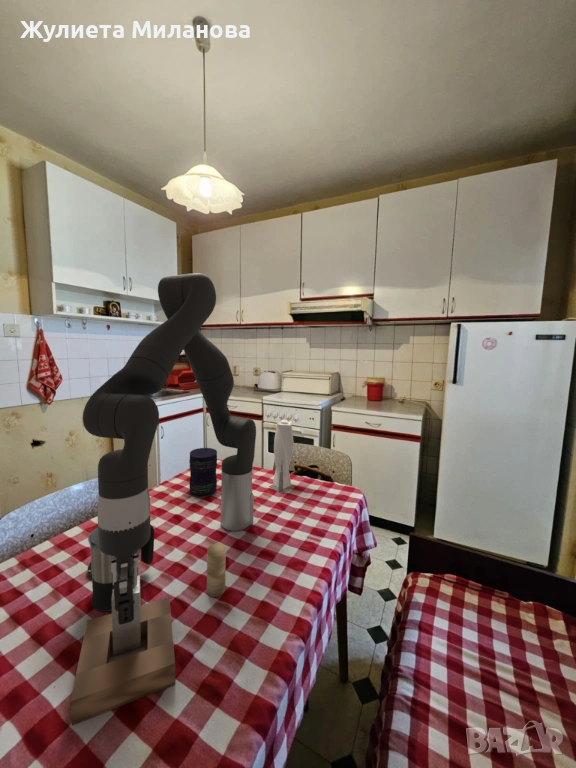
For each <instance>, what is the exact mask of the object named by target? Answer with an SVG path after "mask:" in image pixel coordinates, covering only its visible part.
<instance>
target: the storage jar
mask: <svg viewBox="0 0 576 768" xmlns="http://www.w3.org/2000/svg"><path fill="white" fill-rule="evenodd" d="M188 466H189V469H190V470H189V471H190V477H189V482H188V483H189V495H191V496H192V497H195V498H207V497H211V496H213V495H215V494H216V492H217V491H218V490H217V485H218V484H217V483H218V476H217V467H218V450H217V449H215V448H211V447H199V448H195V449H192V450H191V451H190V452H189V465H188Z"/></svg>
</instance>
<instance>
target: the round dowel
mask: <svg viewBox="0 0 576 768" xmlns="http://www.w3.org/2000/svg"><path fill="white" fill-rule="evenodd" d="M206 549H207V550H206V593H207V595H208V596H209V597H211V598H218V597H221V596H222V595H223V594H224V593H225V591H226V564H227V563H226V561H227V560H226V554H227V552H226V549H227V547H226V545H225V544H223V543H221V542H216V543H212V544H210V545H209V546H208V547H207V548H206Z"/></svg>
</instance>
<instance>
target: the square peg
mask: <svg viewBox="0 0 576 768" xmlns="http://www.w3.org/2000/svg"><path fill="white" fill-rule="evenodd" d="M132 578H133V577H132ZM129 579H130V578H129ZM134 595H135V598H134V600H135V603H134V619H133V621H131V622H128V623H125V624H122V625H120V624H119V623H118V611H116V609H115V598H114V591H113V592H112V611H111V613H112V633H113V655H115V654H118V653H121V652H125V651H128V650H131V649H134V648H137V647H140V641H141V609H140V605H141V576H140V575H138V576H137V585H136V586H135V587H134Z"/></svg>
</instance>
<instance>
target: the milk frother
mask: <svg viewBox="0 0 576 768" xmlns="http://www.w3.org/2000/svg"><path fill="white" fill-rule="evenodd" d="M87 540H88V541H87V542H88V544H89V546H90V562H89V564H88V566H87V575H88V576H90V577H91V580H92V581H91V582H92V583H91V584H92V585H91V587H92V597H91V600H90V601H91V606H92V608H93V609H94V610H97V611H98V612H112V592H113V573H112V572H111V560H113V556H111V555H106V554H104V553H102V552H101V551H100V549H99V543H98V526H97V527H96V528H95V529H93V530H92V531H91V532H90V533H89V534H88V538H87ZM154 549H155V528H154V526H153V525H152V524H150V538H149V540H148V542H147V543H146V544H145V545H144V546H143V547H141V548H140V560H141V562H143V563H144V564H145V565H151V563H152V562H153V561H154V552H155V551H154ZM137 576H139V567H138V568H137ZM117 580H118V581H120V580H119V579H118V577H117Z"/></svg>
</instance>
